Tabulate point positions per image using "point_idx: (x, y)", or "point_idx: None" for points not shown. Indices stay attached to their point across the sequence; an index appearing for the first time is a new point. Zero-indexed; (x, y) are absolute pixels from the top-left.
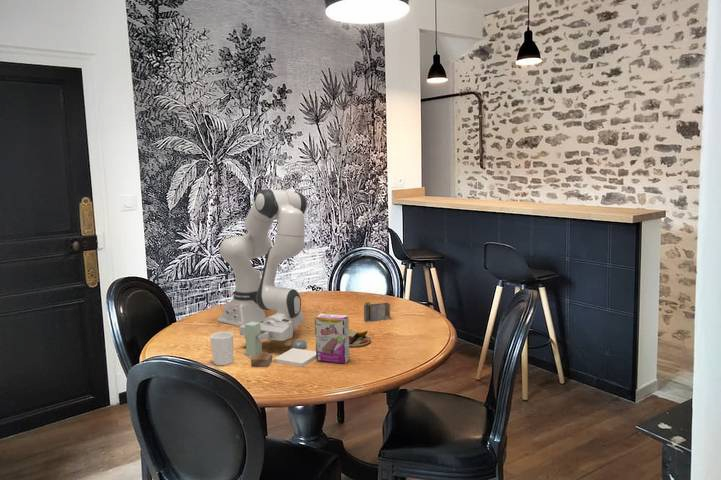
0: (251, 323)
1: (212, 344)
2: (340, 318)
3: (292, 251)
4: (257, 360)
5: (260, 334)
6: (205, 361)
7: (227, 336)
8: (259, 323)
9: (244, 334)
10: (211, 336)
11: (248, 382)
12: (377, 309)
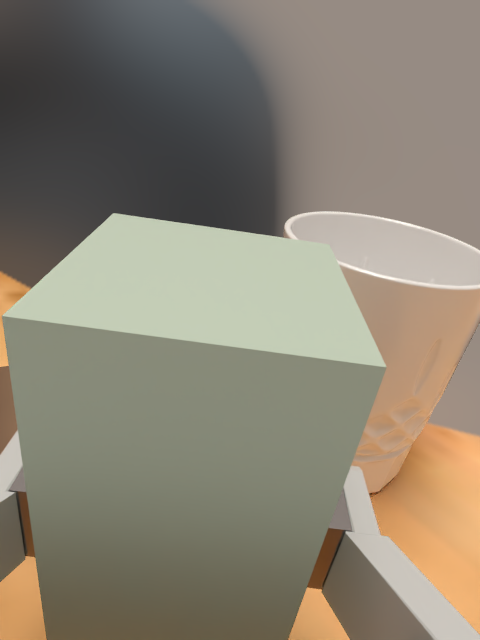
0: (247, 273)
1: (377, 269)
2: None
3: None
4: (6, 372)
5: (25, 489)
6: (444, 428)
7: (418, 327)
8: (25, 303)
9: (356, 468)
10: (454, 250)
11: (18, 288)
12: None
